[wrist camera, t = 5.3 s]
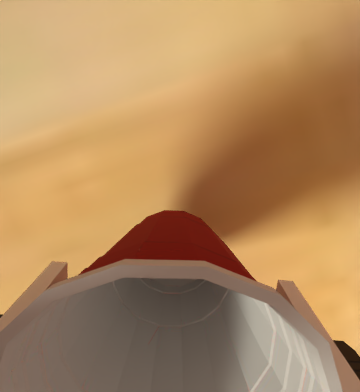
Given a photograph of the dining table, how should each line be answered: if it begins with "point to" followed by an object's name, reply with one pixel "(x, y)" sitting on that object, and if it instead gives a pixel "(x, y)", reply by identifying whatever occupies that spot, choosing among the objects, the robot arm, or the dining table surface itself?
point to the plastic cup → (164, 324)
